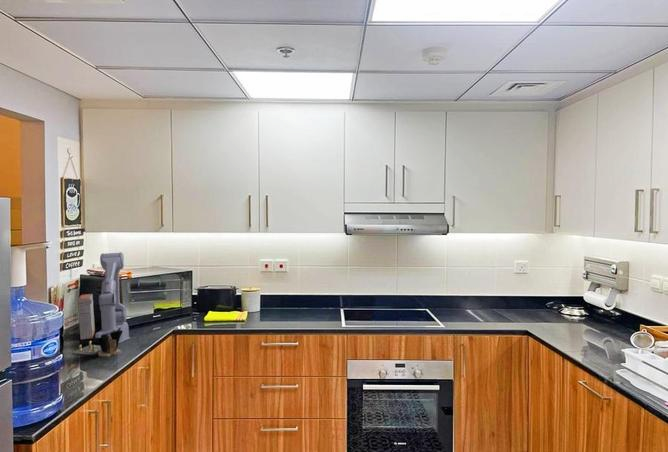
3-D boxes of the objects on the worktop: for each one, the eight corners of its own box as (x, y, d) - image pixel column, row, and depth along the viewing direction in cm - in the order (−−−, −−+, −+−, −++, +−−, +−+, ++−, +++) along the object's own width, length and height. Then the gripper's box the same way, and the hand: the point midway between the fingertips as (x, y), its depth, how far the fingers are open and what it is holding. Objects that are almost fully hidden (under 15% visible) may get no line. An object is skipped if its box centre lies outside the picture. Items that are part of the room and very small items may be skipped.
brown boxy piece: (107, 350, 208) (107, 337, 208) (124, 351, 206) (123, 338, 205) (94, 356, 200) (94, 343, 200) (112, 357, 198) (111, 343, 198)
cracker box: (82, 333, 239) (80, 294, 238) (95, 331, 241) (93, 293, 240) (79, 340, 226) (77, 299, 225) (92, 338, 228) (90, 297, 228)
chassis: (90, 347, 214) (89, 339, 213) (109, 347, 211) (109, 340, 211) (73, 353, 204) (73, 346, 204) (94, 354, 201) (93, 347, 201)
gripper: (104, 323, 194) (106, 354, 195) (127, 315, 209) (128, 344, 209) (90, 323, 196) (92, 354, 197) (114, 315, 210) (115, 344, 211)
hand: (110, 349), depth 203 cm, fingers open, 6 cm apart
